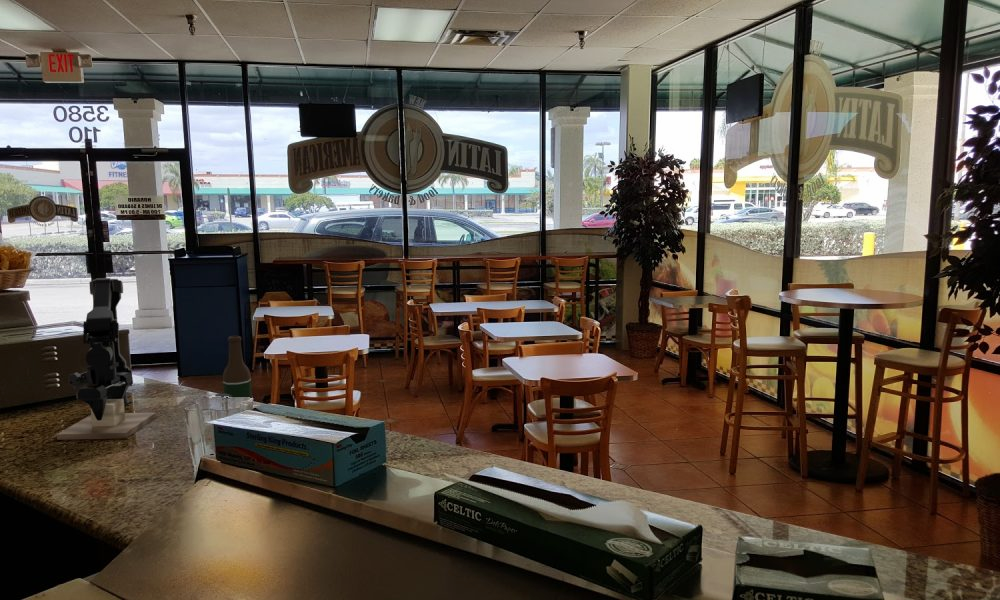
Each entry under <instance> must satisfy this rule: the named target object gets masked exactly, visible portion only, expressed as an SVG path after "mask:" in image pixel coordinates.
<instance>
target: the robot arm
mask: <svg viewBox="0 0 1000 600" xmlns="http://www.w3.org/2000/svg"><path fill="white" fill-rule="evenodd" d="M89 293H90V294H89V295H91V296H93V302H92V303H93V305H92V310H90V311H89V312H87V313H86V319H85V320H84V321H83V327H82V328H83V329H82V330H83V332H82V333H83V334H82V336H83V337H82V338H83V339H82V341H83V342H82V343H83V345H86V344H87V345H89V350H88V352H87V353H86V355H85V361H86V363H87V365H88V366H87V371H84V372H81V373H79V372H74V373H72V374H69V375H68V379H67V380H68V385H70V386H71V387H73V389H78V388H79V387H80V388H79V389H78V390H77V391H76V392H75V393H76V399H77V400H80V401H81V402H85V403H86V404H88V406H89V407H90V410H91V409H92V411H93V413H94V415H95V417H96V419H97V420H98V421H100V420H102V417H103V414H104V409H105V405H106V401H107V399H124V407H126V406H127V405H128V404H131V403H132V402H133V399H128V394H127V393H128V389H129V387H130V386H132V385H134V378H133V371H132V370H131V369H130V366H127V360H126V359H125V358H124V356H123V355H122V354H121V351H120V349H121V348H120V338H119V332H120V331H119V330H120V324H119V322H118V312H117V306H118V305H119V303H120V302H121V300H122V294H124V285H123V281H122V280H121V279H120V280H119V279H118V278H110V277H105V278H102V277H101V278H95V279H93V280H91V281H89ZM86 384H87V385H86ZM83 385H85V386H83ZM81 386H82V387H81Z"/></svg>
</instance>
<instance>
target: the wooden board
mask: <svg viewBox="0 0 1000 600" xmlns="http://www.w3.org/2000/svg"><path fill="white" fill-rule="evenodd" d="M155 419H157V413H156V412H125V420H123V421H122V422H120V423H119V424H117V425H115V426H92V418H91V414H90V415H88V416H86V417H85V418H83V419H81V420H79V421H77V422H76V423H74V424H72V425H71V426H69V427H67V428H65V429H63V430H62V431H60V432H58V433H57V434H56V438H57V439H56V440H57V441H58V440H60V441H61V440H65V441H66V440H101V439H102V440H103V439H104V440H105V439H106V440H107V439H110V440H111V439H128V438H129V437H130V436H132V435H133V434H135V433H136V432H138V431H139V430H141V429H142V428H143V427H144V426H146V425H148V424H149V423H150V422H153V420H155Z"/></svg>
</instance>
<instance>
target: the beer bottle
mask: <svg viewBox="0 0 1000 600" xmlns="http://www.w3.org/2000/svg"><path fill="white" fill-rule="evenodd" d="M227 341H228V363H227V365H226V366H225V368H224V371H223V374H222V388H223V389H222V391H223V393H224V394H229V395H231V396H232V397H250V398H252V399H253V392H252V388H253V387H252V376H251V371H250V370H249V369H250V368H249V367H248V366H247V365H246V363H245V361H244V359H243V358H244V357H243V350H242V349H243V348H242V336H239V335H230V336H228V338H227Z"/></svg>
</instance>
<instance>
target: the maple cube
mask: <svg viewBox="0 0 1000 600" xmlns="http://www.w3.org/2000/svg"><path fill="white" fill-rule="evenodd" d="M125 413H126V411H125V406H124V399H107V401H106V405H105V409H104V414H103V417H102V420H100V421H98V420H97V419H96V417H95V415H94V413H93V411H92V409H91V408H90V415H91V418H92V426H115V425H117V424H119V423H120V422H122V421H123V420H125Z"/></svg>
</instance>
